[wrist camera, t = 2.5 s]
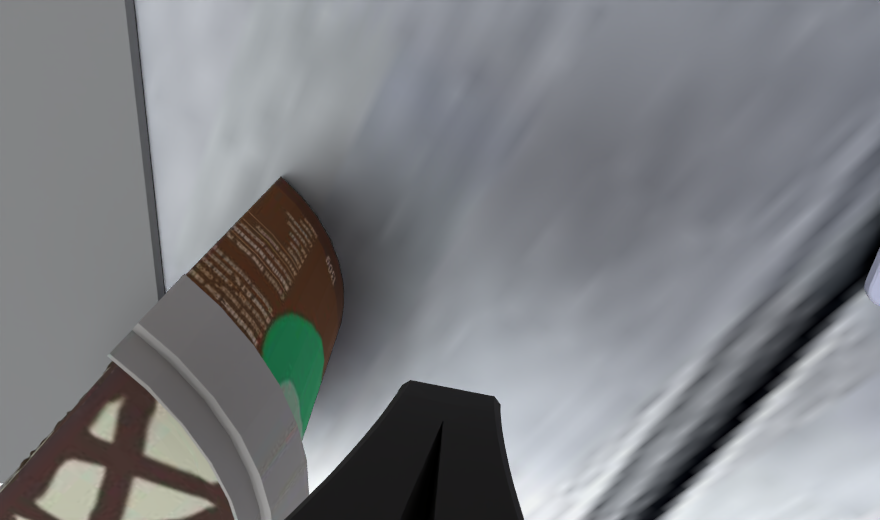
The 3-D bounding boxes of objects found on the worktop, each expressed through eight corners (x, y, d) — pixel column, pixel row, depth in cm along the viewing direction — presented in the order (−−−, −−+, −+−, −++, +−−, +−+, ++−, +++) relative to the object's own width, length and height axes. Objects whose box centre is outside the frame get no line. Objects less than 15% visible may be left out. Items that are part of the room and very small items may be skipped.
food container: (239, 476, 26) (85, 768, 17) (102, 376, 25) (-139, 637, 16) (466, 281, 21) (412, 553, 12) (311, 141, 20) (125, 335, 11)
